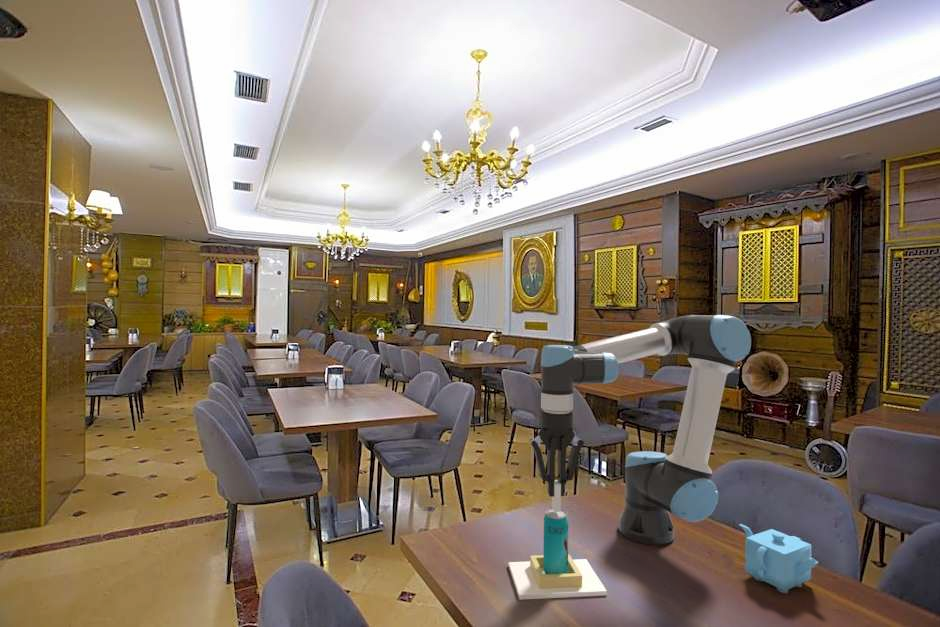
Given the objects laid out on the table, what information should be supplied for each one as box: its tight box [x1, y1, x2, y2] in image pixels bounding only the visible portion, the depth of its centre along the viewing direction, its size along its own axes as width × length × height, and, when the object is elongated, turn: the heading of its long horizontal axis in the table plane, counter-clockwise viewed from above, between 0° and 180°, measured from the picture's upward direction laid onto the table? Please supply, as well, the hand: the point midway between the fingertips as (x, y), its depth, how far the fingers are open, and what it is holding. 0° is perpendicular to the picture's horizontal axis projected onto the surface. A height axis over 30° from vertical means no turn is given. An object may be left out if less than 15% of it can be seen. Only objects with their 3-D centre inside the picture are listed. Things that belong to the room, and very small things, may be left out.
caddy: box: [507, 553, 608, 601], centre depth 114 cm, size 20×14×4 cm
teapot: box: [738, 523, 819, 594], centre depth 115 cm, size 16×18×11 cm
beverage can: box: [543, 508, 569, 575], centre depth 114 cm, size 6×6×15 cm
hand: (556, 509), depth 114 cm, fingers closed
